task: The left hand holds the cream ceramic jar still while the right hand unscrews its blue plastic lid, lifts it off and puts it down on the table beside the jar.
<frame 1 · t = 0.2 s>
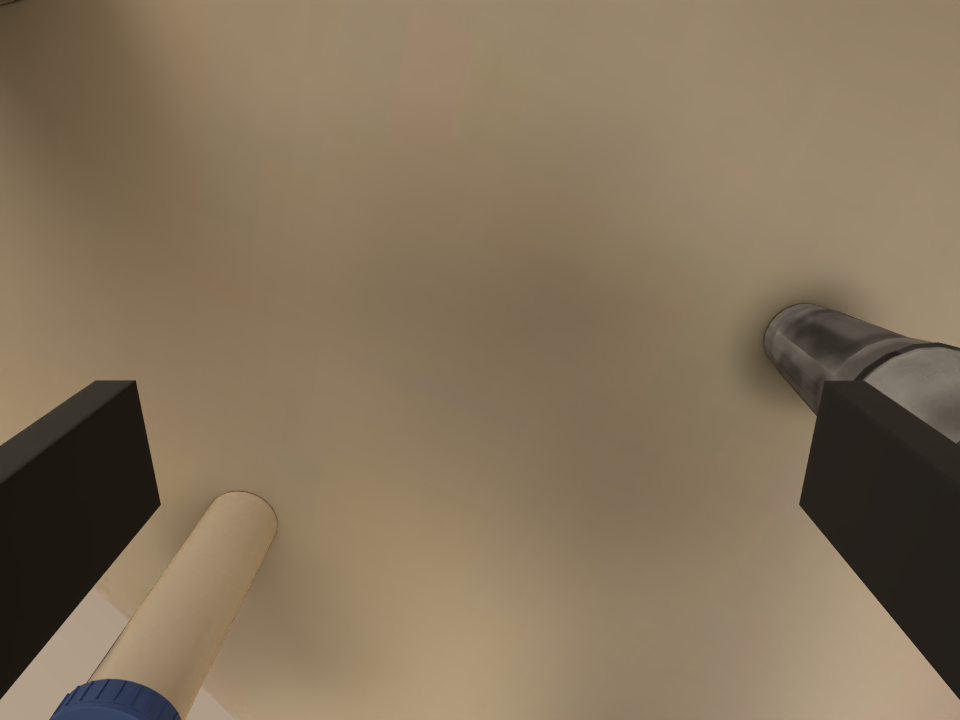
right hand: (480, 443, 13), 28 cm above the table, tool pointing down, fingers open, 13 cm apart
beverage cup: (798, 336, 41), on the table
jar: (242, 521, 46), on the table
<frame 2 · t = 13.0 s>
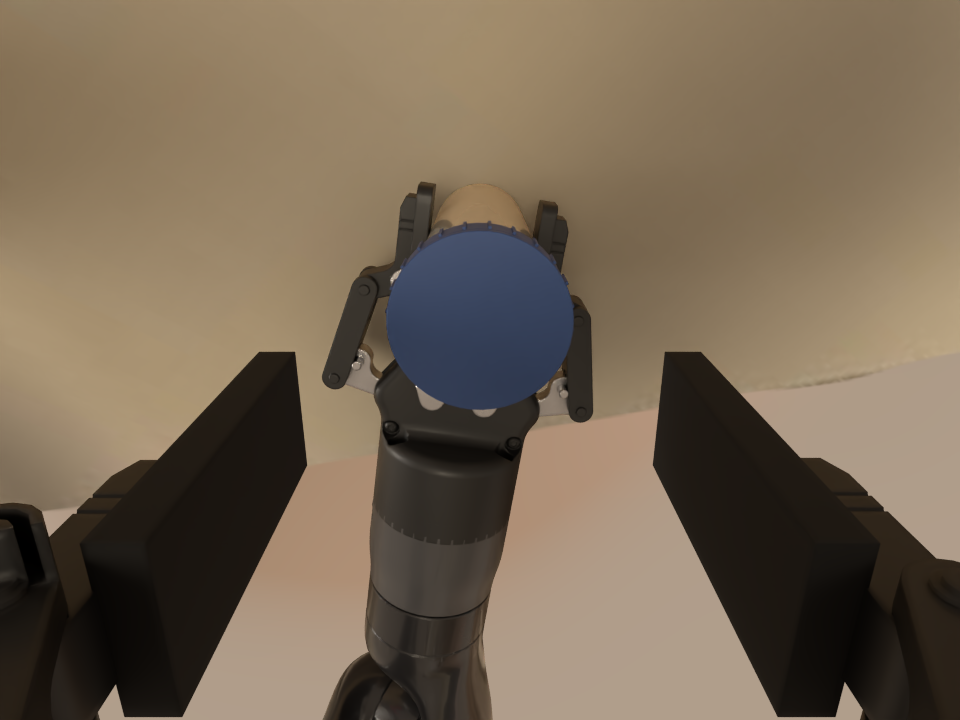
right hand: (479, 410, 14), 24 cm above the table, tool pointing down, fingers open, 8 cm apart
left hand: (487, 195, 30), fingers closed on jar, 5 cm apart
jar: (479, 229, 37), on the table, touching left hand
lid: (480, 321, 20), point 18 cm above the table, screwed on, not yet turned
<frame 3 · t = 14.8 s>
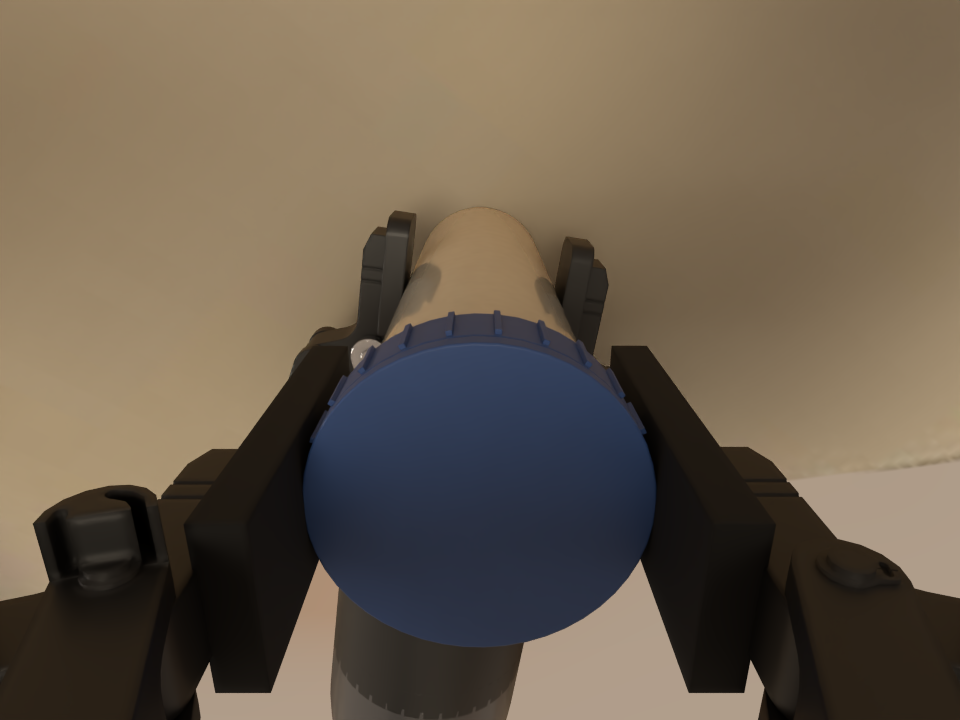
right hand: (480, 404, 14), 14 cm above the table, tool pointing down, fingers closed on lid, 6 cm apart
jar: (479, 267, 27), on the table, touching left hand
lid: (479, 498, 11), point 18 cm above the table, screwed on, not yet turned, touching right hand
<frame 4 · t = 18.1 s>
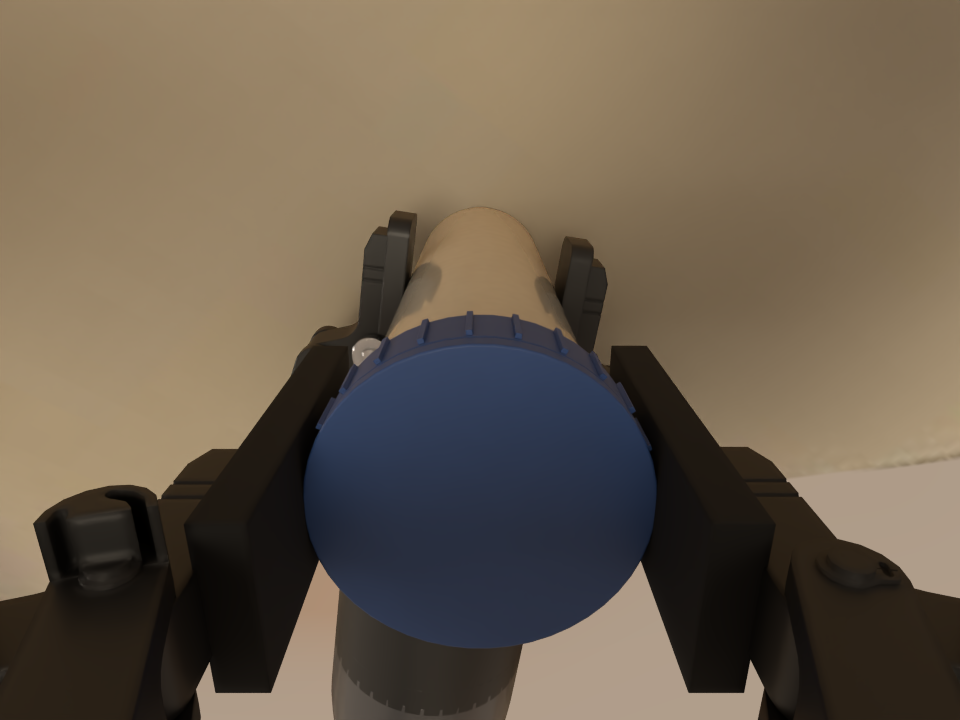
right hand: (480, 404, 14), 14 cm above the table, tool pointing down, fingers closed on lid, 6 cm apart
jar: (479, 266, 28), on the table, touching left hand
lid: (480, 499, 11), point 18 cm above the table, turned 114° so far, risen 0.2 cm, still on its thread, touching right hand
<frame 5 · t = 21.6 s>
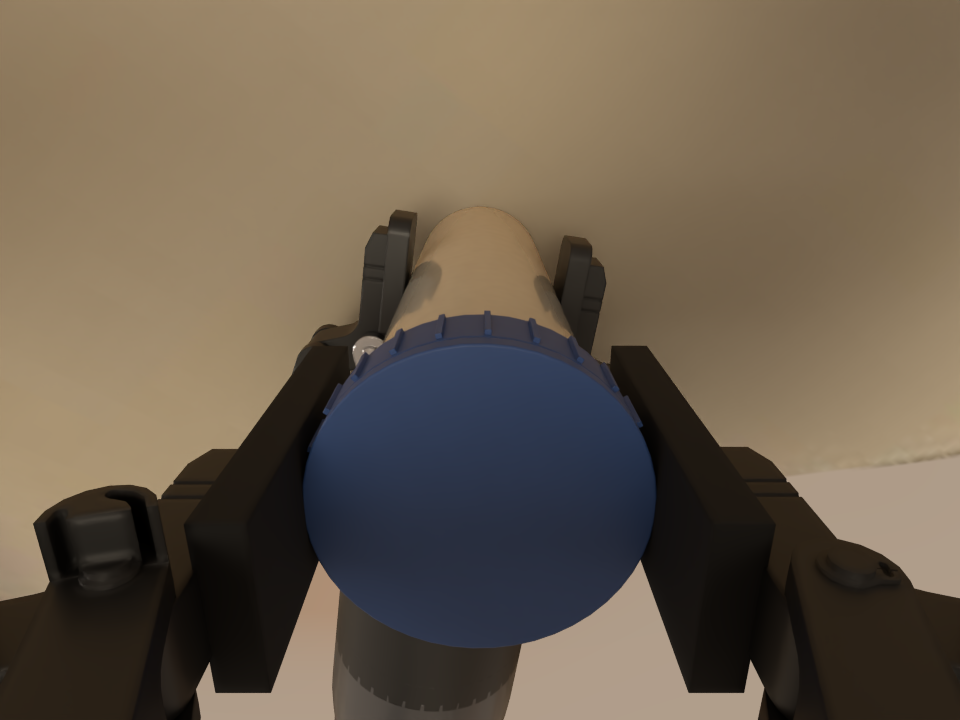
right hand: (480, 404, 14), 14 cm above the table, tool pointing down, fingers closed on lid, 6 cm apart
jar: (479, 265, 28), on the table, touching left hand
lid: (479, 499, 11), point 18 cm above the table, turned 228° so far, risen 0.3 cm, still on its thread, touching right hand
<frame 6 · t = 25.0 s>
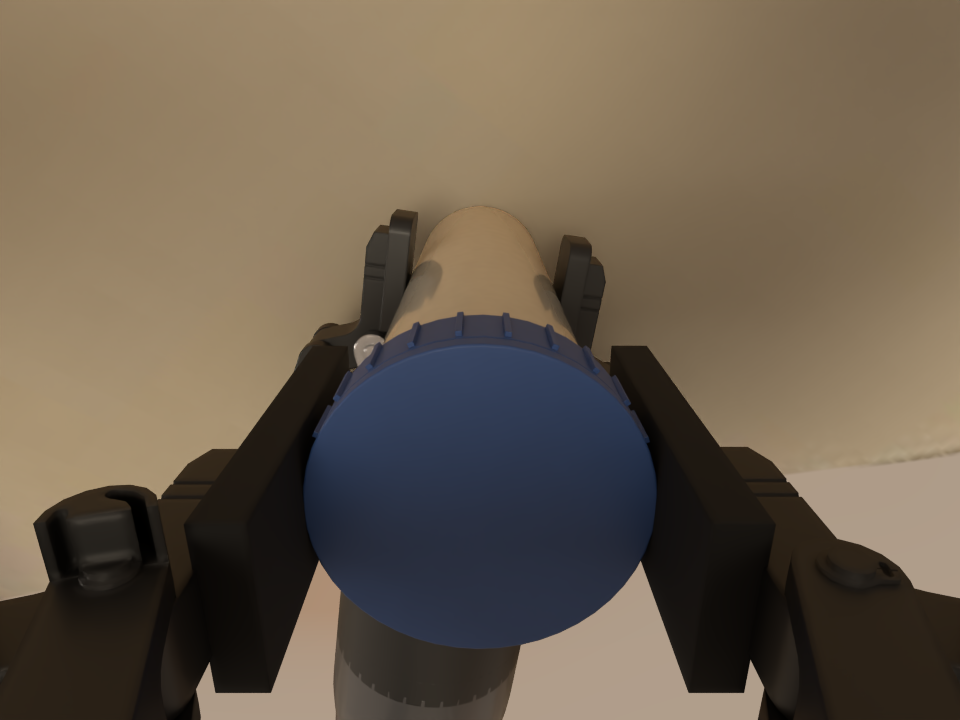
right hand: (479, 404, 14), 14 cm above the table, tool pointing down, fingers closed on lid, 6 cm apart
jar: (479, 265, 28), on the table, touching left hand
lid: (480, 499, 11), point 18 cm above the table, turned 342° so far, risen 0.5 cm, still on its thread, touching right hand
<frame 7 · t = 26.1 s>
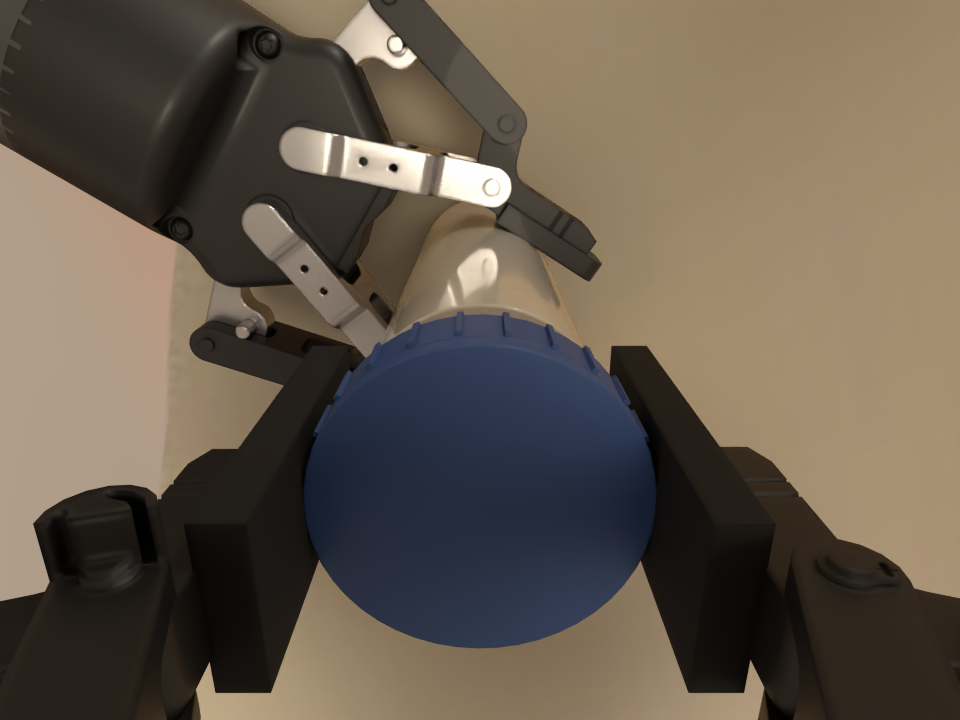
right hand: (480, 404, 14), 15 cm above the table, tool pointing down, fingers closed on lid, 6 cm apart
left hand: (543, 332, 23), fingers closed on jar, 5 cm apart
jar: (481, 256, 28), on the table, touching left hand
lid: (480, 499, 11), point 19 cm above the table, off its thread, touching right hand
when the right hand's fingers open (0 cm above the table, at t = 33.3 s): lid stays where it is, point 1 cm above the table.
when the left hand's fingers open (6 cm above the table, at t = 34.0 s): jar stays where it is, on the table.
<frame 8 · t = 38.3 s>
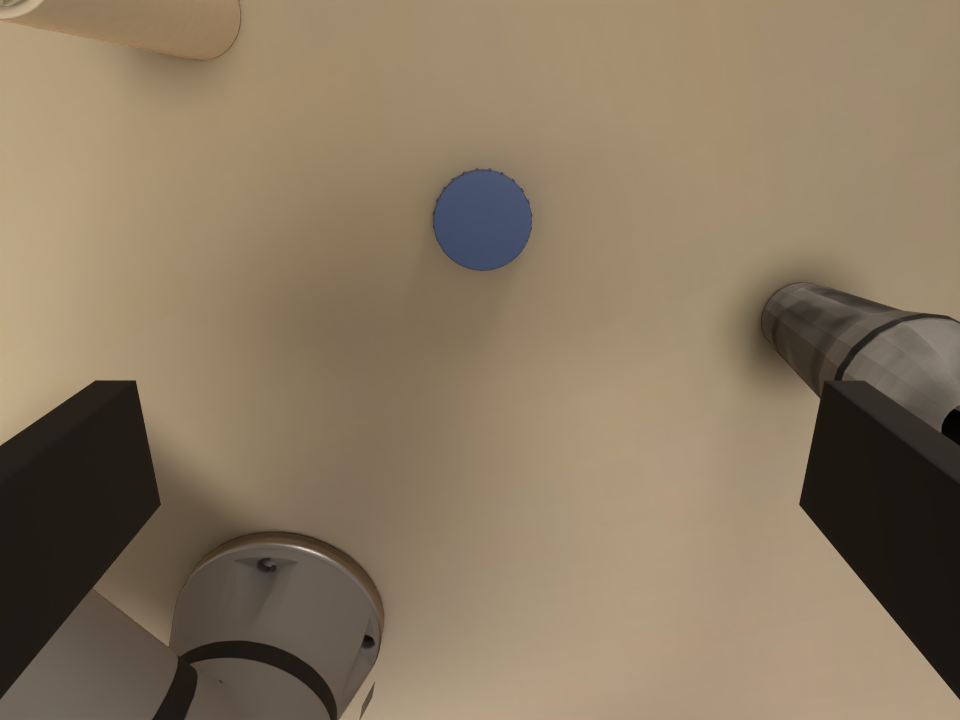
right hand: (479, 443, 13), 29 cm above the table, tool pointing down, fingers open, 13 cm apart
beverage cup: (795, 316, 41), on the table
jar: (194, 9, 35), on the table
lid: (482, 221, 38), point 1 cm above the table, off its thread
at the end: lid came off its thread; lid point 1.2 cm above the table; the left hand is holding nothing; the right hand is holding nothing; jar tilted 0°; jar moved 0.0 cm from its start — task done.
